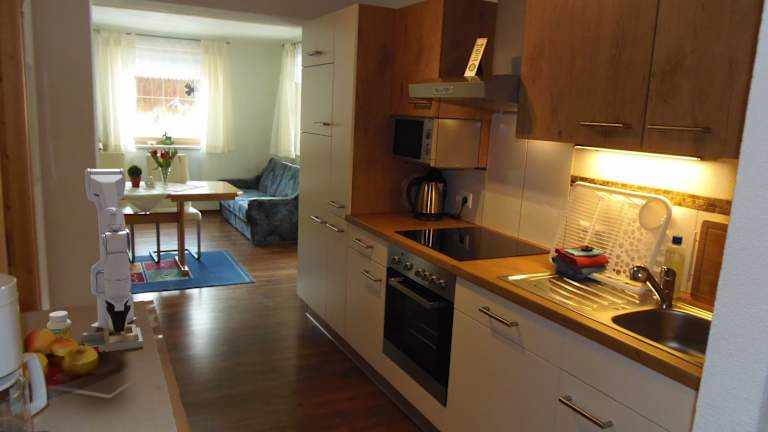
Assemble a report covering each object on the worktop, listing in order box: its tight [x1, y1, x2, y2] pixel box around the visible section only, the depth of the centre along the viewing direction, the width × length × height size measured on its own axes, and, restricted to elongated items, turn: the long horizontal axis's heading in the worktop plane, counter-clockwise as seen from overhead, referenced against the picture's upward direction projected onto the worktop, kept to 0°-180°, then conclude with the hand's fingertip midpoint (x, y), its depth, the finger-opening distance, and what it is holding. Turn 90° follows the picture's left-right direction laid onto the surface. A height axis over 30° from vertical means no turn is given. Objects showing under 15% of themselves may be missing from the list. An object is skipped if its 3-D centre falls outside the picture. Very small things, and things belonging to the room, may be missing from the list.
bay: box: [82, 327, 144, 353], centre depth 144 cm, size 14×10×2 cm
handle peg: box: [109, 315, 128, 336], centre depth 144 cm, size 4×4×7 cm
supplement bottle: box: [46, 310, 73, 340], centre depth 139 cm, size 5×5×10 cm
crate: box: [103, 323, 138, 344], centre depth 145 cm, size 8×8×3 cm
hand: (118, 328), depth 144 cm, fingers closed on handle peg, 4 cm apart
